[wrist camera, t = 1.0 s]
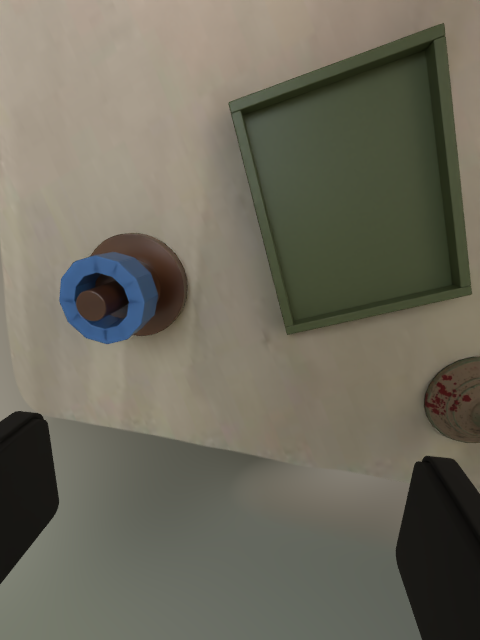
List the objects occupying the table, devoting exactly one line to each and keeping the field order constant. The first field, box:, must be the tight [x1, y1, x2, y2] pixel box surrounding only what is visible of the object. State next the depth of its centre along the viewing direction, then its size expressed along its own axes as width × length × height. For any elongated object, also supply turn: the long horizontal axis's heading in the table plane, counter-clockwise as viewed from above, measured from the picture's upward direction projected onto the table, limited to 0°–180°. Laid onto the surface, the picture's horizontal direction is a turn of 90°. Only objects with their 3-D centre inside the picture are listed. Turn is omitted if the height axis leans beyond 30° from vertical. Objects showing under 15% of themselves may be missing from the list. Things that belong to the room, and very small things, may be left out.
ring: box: [59, 252, 158, 344], centre depth 28 cm, size 7×7×3 cm
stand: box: [76, 233, 187, 336], centre depth 29 cm, size 10×10×9 cm
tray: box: [229, 23, 472, 335], centre depth 28 cm, size 20×16×2 cm
